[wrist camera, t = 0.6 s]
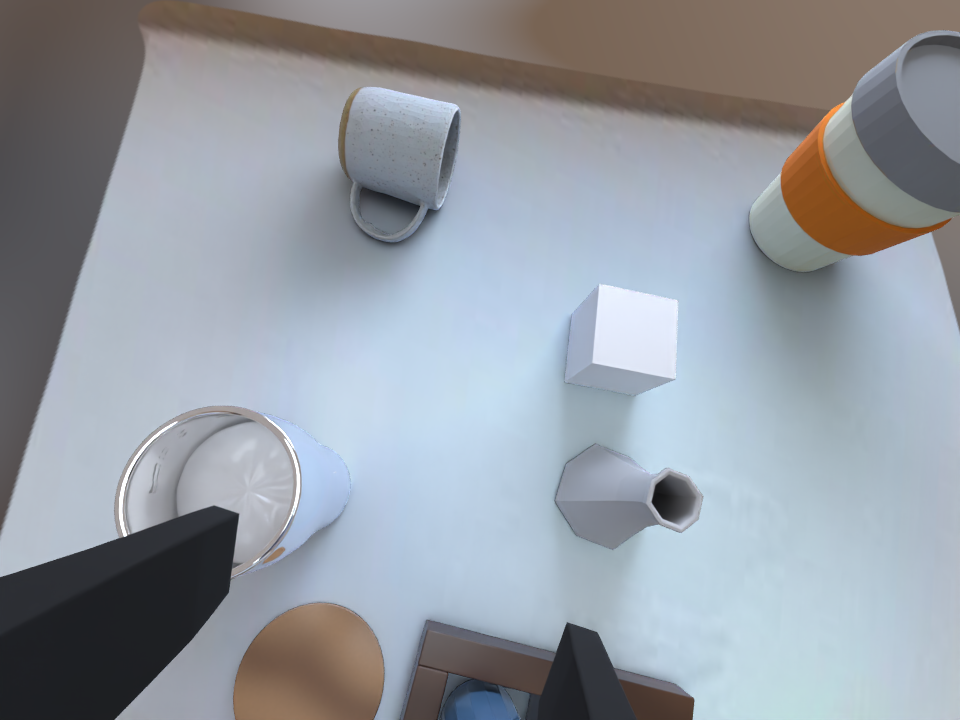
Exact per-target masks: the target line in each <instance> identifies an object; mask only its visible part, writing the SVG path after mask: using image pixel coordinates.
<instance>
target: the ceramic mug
mask: <svg viewBox="0 0 960 720" xmlns="http://www.w3.org/2000/svg"><path fill="white" fill-rule="evenodd" d="M460 122H461V116H460V109H459V107H458V106H457V105H455V104H451V103H447V102H441V101H436V100H432V99H428V98H423V97H419V96H415V95H410V94H405V93H401V92H397V91H393V90H389V89H384V88H379V87H361V88H358V89H356V90H355V91H353V92H352V93H351V95H350V96H349V98H348V100H347V102H346V104H345V107H344V109H343V113H342V117H341V122H340V128H339V138H338V150H339V158H340V163H341V166H342V168H343V170H344V172H345V174H346V176H347V177H348V178H349V179H350V180H351V181H352V182H353V185H352V187H351V192H350V206H351V212H352V215H353V217H354V219H355V221H356V223H357V224H358V226H359V227H360V228H361V229H362V230H363V231H364V232H366V233H367V234H368V235H370V236H372V237H373V238H376V239H378V240H381V241H385V242H398V241H402V240H404V239H405V238H407V237H409V236H410V235H412V234H413V233H414V232H415V231H416V229H417V228H418V227H419V225H420V224H421V222H422V220H423V218H424V217H425V214H426V212H427V210H428V209H433V210H438V209H440V207H441V206H442V205H443V203H444V200H445V197H446V195H447V192H448V189H449V186H450V182H451V179H452V175H453V170H454V166H455V162H456V156H457V152H458V143H459V134H460ZM363 187H364V188H367V189H370V190H373V191H376V192H381V193H385V194H388V195H391V196H393V197H396V198H399V199H402V200H404V201H407V202H410V203H412V204H417V205H419V206H420V209H419V211H418V213H417V214H416V216H415V217H414V219H413V220H412V222H411V223H410V224H409V225H408V226H407V227H406V228H404V229H402V230H401V231H398V232H397V233H395V234H392V235H391V234H388V233H385V232H383V231H380V230H378V229H377V228H375V227H374V226H373V225H372V223H367V222H365V221H364V220H363V219H362V217H361V214H360V211H359V208H360V206H359V200H360V192H361V189H362V188H363Z"/></svg>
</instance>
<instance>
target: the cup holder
mask: <svg viewBox="0 0 960 720" xmlns="http://www.w3.org/2000/svg"><path fill="white" fill-rule="evenodd" d="M555 655H556V653H554V652H550V651H546V650H542V649H538V648H535V647H531V646H527V645H523V644H519V643H515V642H511V641H508V640H504V639H500V638H496V637H492V636H488V635H485V634H481V633H477V632H473V631H469V630H465V629H461V628H458V627H454V626H450V625H446V624H442V623H438V622H435V621H431V620H426V623H425V627H424V630H423V634H422V638H421V642H420V645H419V649H418V654H417V657H416V660H415V664H414V668H413V672H412V675H411V679H410V683H409V687H408V690H407V694H406V698H405V702H404V705H403V709H402V713H401V717H400V720H437V719H438V715H439V711H440V707H441V703H442V698H443V694H444V690H445V686H446V682H447V678H448V672H449V673H453V674H457V675H461V676H464V677H468V678H472V679H476V680H480V681H484V682H488V683H492V684H496V685H500V686H504V687H508V688H512V689H516V690H520V691H524V692H527V693H531V696H530V701H529V706H528V711H527V716H526V720H537V718H538V707H539V700H540V697H541V694H542V691H543V689H544V686H545V683H546V680H547V677H548V674H549V672H550V669H551V666H552V663H553V660H554V658H555ZM614 670H615V672H616V675H617V677H618V679H619V681H620V683H621V686H622V688H623V690H624V692H625V694H626V696H627V699H628V701H629V703H630V705H631V707H632V709H633V711H634V714H635V716H636V718H637V720H692V719H693V709H694V698H693V697H691V696H690V695H689V694H688V693H686V692H685V691H684V690H683V689H681V688H680V687H679V686H677V685H676V684H673V683H669V682H665V681H661V680H658V679H654V678H650V677H646V676H642V675H638V674H634V673H631V672H627V671H623V670H619V669H615V668H614Z"/></svg>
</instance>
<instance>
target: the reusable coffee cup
mask: <svg viewBox="0 0 960 720" xmlns="http://www.w3.org/2000/svg"><path fill="white" fill-rule="evenodd" d="M958 215H960V32H953V31H946V30H941V31H929V32H925V33H922V34H919V35H917V36H915V37H914V38H912V39H910V40H909V41H907V42H906V43H905V44H903V45H902V46H901V47H900V48H898V49H897V50H896V51H894V52H893V53H892V54H891V55H889V56H888V57H887V58H885V59H884V60H883V61H882V62H880V63H879V64H878V65H876V66H875V67H874V68H873V69H871V70H870V71H869V72H867V73H866V74H865V75H864V76H863V77H862V78H861V80H860V81H859V82H858V83H857V86H856V88H855V90H854V92H853V95H852V96H851V97H850V98H849V99H848V100H847V101H846V102H845V103H842V104H840V105H838V106H837V107H835V108H833V109H832V110H831V111H830V112H829V113H828V114H827V115H826V116H825V117H824V118H823V119H822V121H821V122H820V123H819V124H818V125H817V126H816V127H815V128H814V130H813V131H812V132H811V133H810V134H809V135H808V136H807V137H806V138H805V140H804V141H803V142H802V143H801V144H800V145H799V146H798V147H797V148H796V150H795V151H794V152H793V153H792V154H791V155H790V156H789V157H788V158H787V160H786V162H785V164H784V166H783V168H782V172H781V173H780V174H779V175H778V177H777V178H776V179H775V180H774V181H773V182H772V183H771V184H770V185H769V186H768V187H767V189H766V190H765V191H764V192H763V193H762V194H761V195H760V196H759V197H758V198H757V199H756V201H755V202H754V203H753V205H752V207H751V210H750V214H749V224H750V230H751V233H752V235H753V238H754V240H755V242H756V243H757V245H758V247H759V248H760V249H761V250H762V252H763V253H764V254H765V255H766V256H767V257H768V258H770V259H771V260H772V261H773V262H775V263H776V264H778V265H780V266H782V267H784V268H786V269H789V270H793V271H797V272H809V271H814V270H817V269H820V268H822V267H825V266H827V265H830V264H833V263H835V262H838V261H840V260H843V259H846V258H848V257H851V256H853V255H858V256H862V255H868V254H873V253H875V252H878V251H881V250H883V249H886V248H889V247H891V246H894V245H897V244H900V243H902V242H905V241H908V240H910V239H913V238H916V237H918V236H921V235H924V234H926V233H929V232H932V231H934V230H937V229H939V228H941V227H943V226H944V225H945V224H946V223H948V222H949V221H950V220H951V219H952V218H953V217H955V216H958Z"/></svg>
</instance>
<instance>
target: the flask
mask: <svg viewBox="0 0 960 720" xmlns="http://www.w3.org/2000/svg"><path fill="white" fill-rule="evenodd" d="M702 501H703V495H702V494H701V492H700V491H699V489H698V488H697V486H696V485H695V484H694V482H693V481H692V479H691V478H690V476H688V475H685V474H683V473H680V472H678V471H675V470H673V469H670V468H665V469H664V470H662V471H661V472H660V473H658V474H650V473H649V472H647V471H646V470H644V469H643V468H642V467H641V466H639V465H638V464H637V463H636V462H635V461H634V460H632V459H631V458H630V457H627V456H625V455H622V454H620V453H617V452H615V451H612V450H610V449H607V448H605V447H602V446H600V445H597V444H594V445H593V446H591V447H590V448H588V449H587V450H585V451H584V452H582V453H581V454H580V455H578V456H577V457H575V458H574V459H572V460H571V461H569V462H568V463H567V464H566V466H565V469H564V472H563V476H562V479H561V482H560V486H559V489H558V492H557V495H556V499H555V502H556V504H557V505H558V507H559V508H560V510H561V512H562V513H563V515H564V516H565V518H566V520H567V521H568V523H569V524H570V526H571V527H572V529H573V531H574V532H575V534H576V535H577V536H579V537H581V538H584V539H586V540H589V541H591V542H594V543H597V544H599V545H602V546H604V547H607V548H609V549H612V550H614V549H615V548H617V547H618V546H619V545H621V544H622V543H623V542H625V541H626V540H627V539H629V538H630V537H632V536H633V535H635V534H636V533H638V532H639V531H641V530H643V529H644V528H646V527H649V526H653V525H658V524H659V525H661V526H664V527H666V528H669V529H672V530H674V531H677V532H679V533H682V532H683V531H685V530H686V529H687V528H688V527H690V526H691V525H692V524H693V523H695V522H696V521H697V520H698V519H699V515H700V510H701V505H702Z"/></svg>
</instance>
